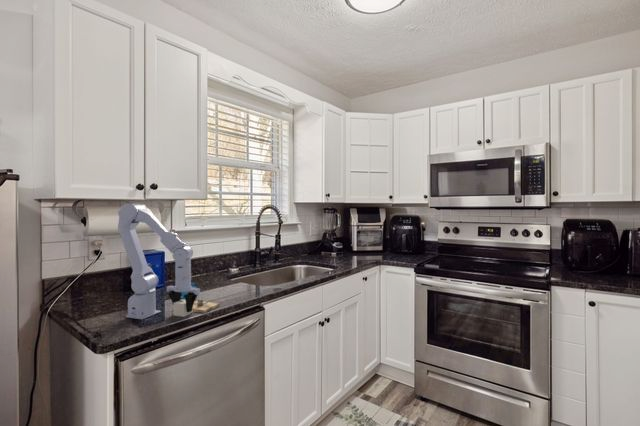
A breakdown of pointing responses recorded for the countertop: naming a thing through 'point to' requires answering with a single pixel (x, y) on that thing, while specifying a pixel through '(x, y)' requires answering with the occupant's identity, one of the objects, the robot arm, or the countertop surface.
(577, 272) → the countertop surface
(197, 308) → the shaft plate
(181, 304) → the white cube
